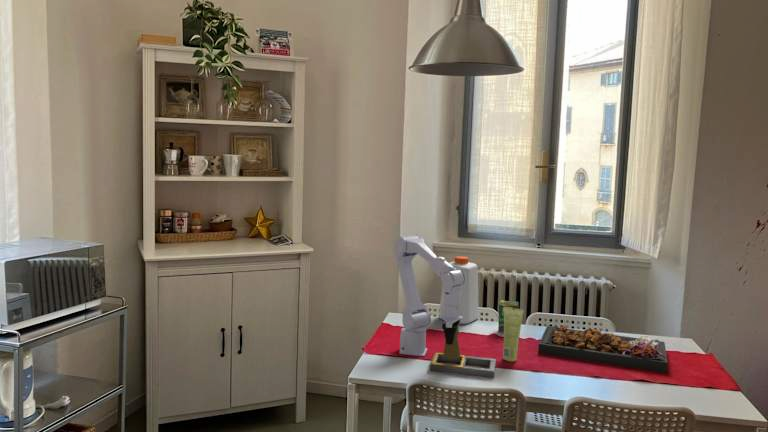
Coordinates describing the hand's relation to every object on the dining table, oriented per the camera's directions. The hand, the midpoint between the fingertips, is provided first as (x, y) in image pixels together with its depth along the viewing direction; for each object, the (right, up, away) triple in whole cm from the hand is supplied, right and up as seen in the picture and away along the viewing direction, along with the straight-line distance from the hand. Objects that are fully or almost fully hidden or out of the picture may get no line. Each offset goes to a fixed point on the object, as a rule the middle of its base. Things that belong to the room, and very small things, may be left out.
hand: (450, 341), depth 220 cm
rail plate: (+5, -10, 0) cm, 11 cm away
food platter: (+61, -9, +21) cm, 65 cm away
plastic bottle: (+10, -2, +59) cm, 60 cm away
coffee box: (+29, -5, +43) cm, 52 cm away
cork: (+1, -6, 0) cm, 6 cm away
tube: (+23, -9, +10) cm, 27 cm away
